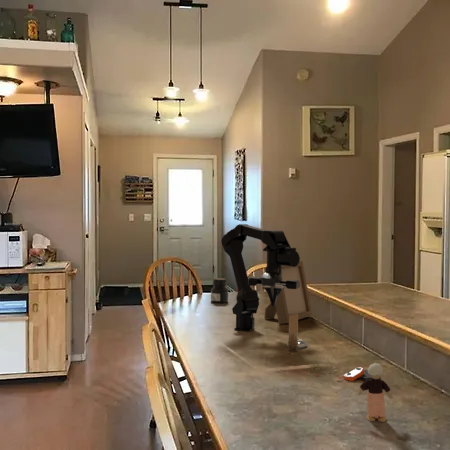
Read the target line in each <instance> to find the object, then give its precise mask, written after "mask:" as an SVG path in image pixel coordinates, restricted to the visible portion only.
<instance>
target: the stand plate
mask: <svg viewBox="0 0 450 450" xmlns="http://www.w3.org/2000/svg"><path fill="white" fill-rule="evenodd" d="M299 337H300V336H298V341H304V340H303V339H301V338H299ZM290 355H294V352H291V351H290Z"/></svg>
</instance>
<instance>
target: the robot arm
mask: <svg viewBox="0 0 450 450" xmlns="http://www.w3.org/2000/svg"><path fill="white" fill-rule="evenodd" d="M247 237H249V238H253V239H257V240H260V241H261V243H263V244H264V245H266V246H265V247H264V248H262V251H263V252H266V266H265V271H264V273H263V274H262V276H251V277H249V276H248V272H247V269H246V265H245V261H244V258H243V249H244V242H245V241H246V240H247ZM221 245H222V248H223V252H225V254H227V256H229V258H230V264H231V266H232V271H233V274H234V278H235V279H234V280H235V282H236V287H237V294H236V303H235V304H234V305H233V307H232V308H231V309H232V310H231V311H232V314H233V315H235V327H234V331H243V332H244V331H246V332H251V331H252V330H253V329H255V317H254V315H255V314H257V312H258V308H259V306H260V298H259V295H258V294H259V293H258V291H257V289H253V288H252V287H256V286H257V285H258V284H259V285H261V286H262V287H261V288H262V290H265V291H266V293H267V295H268V299H269V301H270V303H271V305H272V306H275V303H276V301H277V298H278V296H279V294H280V292H281V290H283V289H285V287H284V286H286V287H287V288H288V289H298V288H299V287H300V281H299V280H293V279H289V280H287V281H282V269H283V266H282V265H284V266H291V267H295V266H297V265H298V263H299V261H301V259H300V258H301V257H300V255H299V253H298V251H297V247H291V244H290V243H289V241H288V238H287V237H286V234H285V232H284V230H279V229H278V230H277V229H276V230H275V229H274V230H273V229H271V230H268V229H265V228H264V229H263V228H260V227H256V226H253V225H250V224H249V225H248V224H246V223H245V224H244V223H243V224H241V223H240V224H237V225H236V226H235V227H234V228H232V229H230V230H229V231H227V232H226V233H225V234H224V235H223V237H221ZM274 286H275V288H274Z"/></svg>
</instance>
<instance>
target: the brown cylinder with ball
mask: <svg viewBox="0 0 450 450" xmlns="http://www.w3.org/2000/svg"><path fill="white" fill-rule="evenodd" d="M298 337H299V320H298V314H289V323H288V341H287V345H286V347H288V351H289V352H290V353H291V352H295V353H296V352H298V350H299V349H304V348H306V347H307V346H308V345H307V344H308V342H307V341H304V340H303V341H298Z"/></svg>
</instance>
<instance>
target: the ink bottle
mask: <svg viewBox="0 0 450 450" xmlns="http://www.w3.org/2000/svg"><path fill="white" fill-rule="evenodd" d="M212 280H213V281H212V286H213V287H212V288H211V289H210V302H212V303H214V304H226V303H228V302H229V288H227V278H222V277H215V278H213V279H212Z"/></svg>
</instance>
